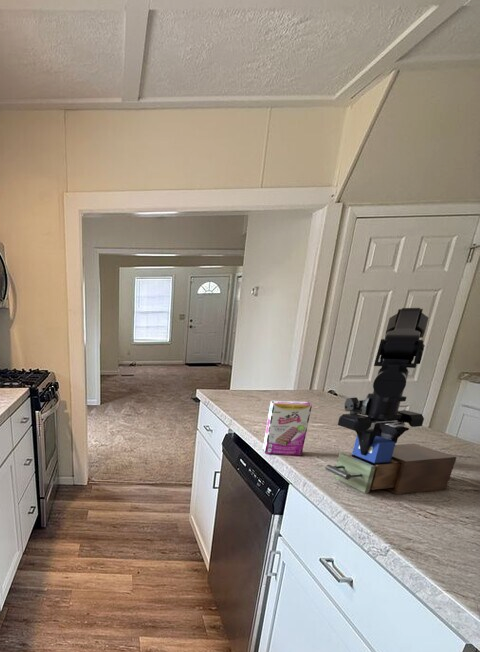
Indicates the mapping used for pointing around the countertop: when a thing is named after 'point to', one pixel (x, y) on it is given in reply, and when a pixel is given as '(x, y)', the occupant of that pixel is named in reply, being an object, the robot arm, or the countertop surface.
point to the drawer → (365, 472)
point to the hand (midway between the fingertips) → (371, 454)
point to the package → (376, 450)
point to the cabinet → (421, 469)
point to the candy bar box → (286, 427)
